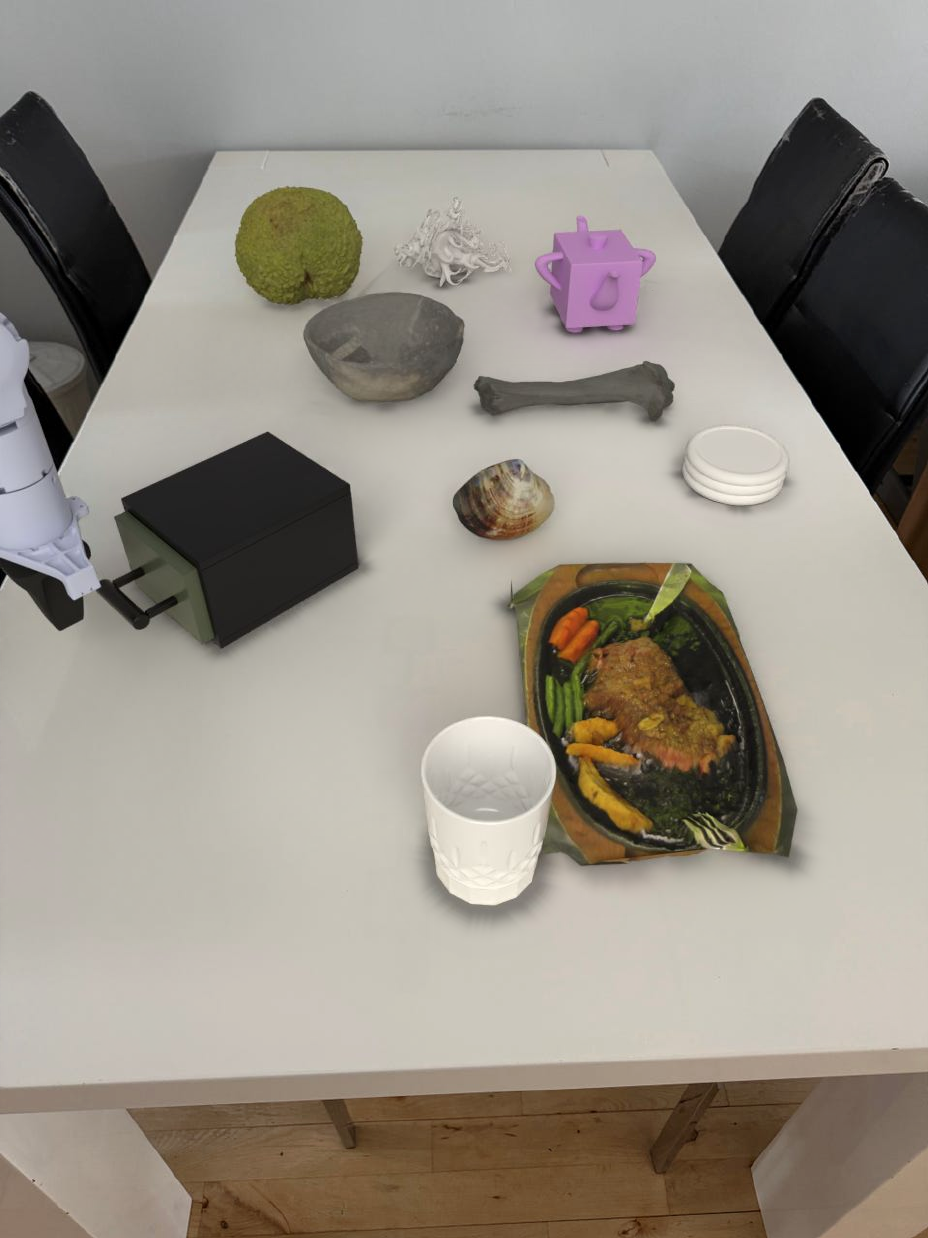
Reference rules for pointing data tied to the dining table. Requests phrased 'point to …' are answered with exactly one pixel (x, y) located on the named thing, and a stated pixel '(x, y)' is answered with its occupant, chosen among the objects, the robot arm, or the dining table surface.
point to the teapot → (594, 277)
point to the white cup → (487, 806)
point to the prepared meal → (648, 716)
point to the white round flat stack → (735, 465)
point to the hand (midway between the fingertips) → (67, 620)
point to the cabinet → (254, 530)
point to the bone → (583, 390)
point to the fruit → (298, 245)
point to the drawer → (157, 581)
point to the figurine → (448, 247)
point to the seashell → (504, 501)
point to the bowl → (385, 345)
